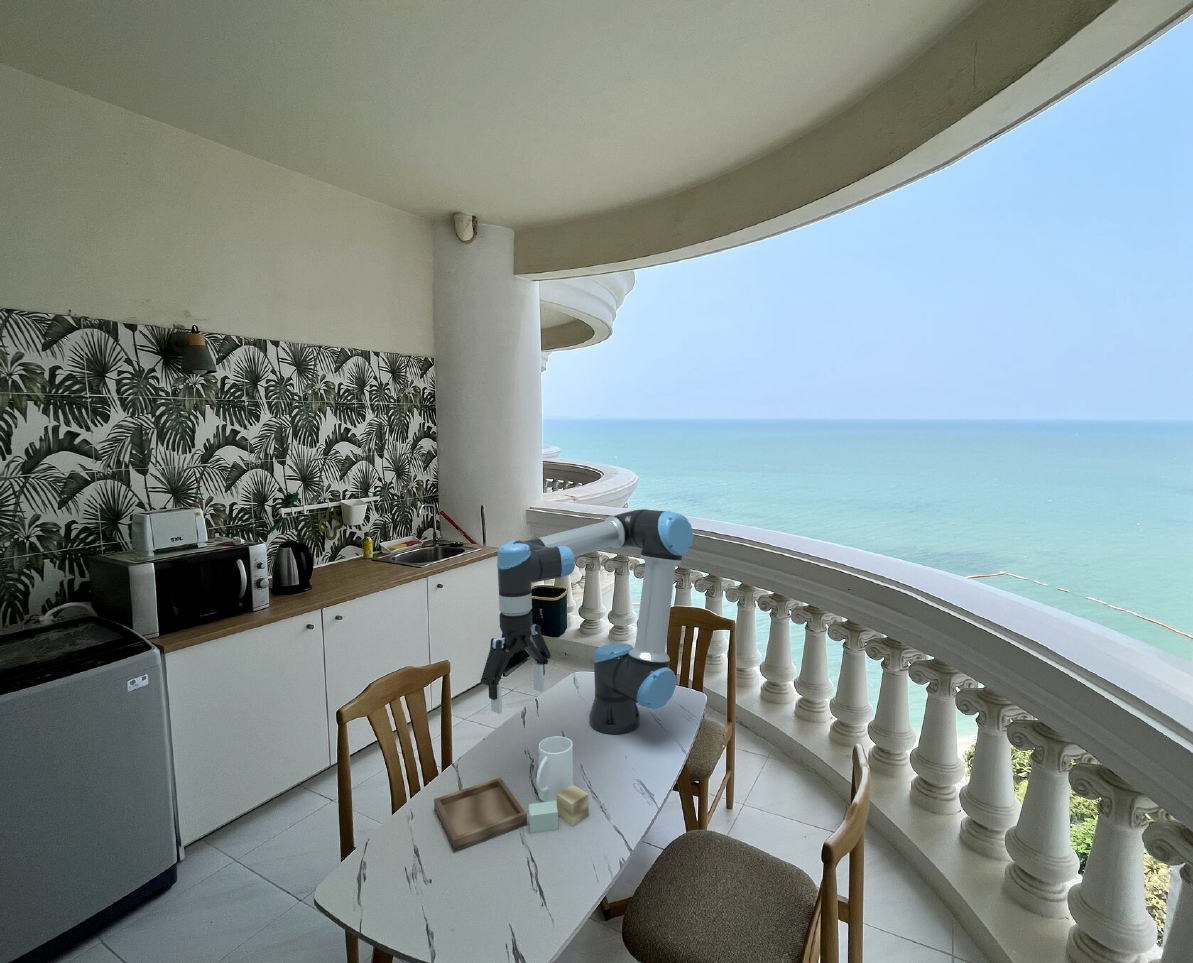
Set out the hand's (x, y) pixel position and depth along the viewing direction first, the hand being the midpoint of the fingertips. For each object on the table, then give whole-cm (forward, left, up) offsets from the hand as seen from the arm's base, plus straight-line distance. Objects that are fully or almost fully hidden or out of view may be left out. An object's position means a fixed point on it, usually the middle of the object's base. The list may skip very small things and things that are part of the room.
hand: (518, 700), depth 130 cm
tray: (+11, +2, -23) cm, 26 cm away
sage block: (0, +12, -23) cm, 26 cm away
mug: (-6, +4, -24) cm, 25 cm away
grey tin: (-9, -5, -23) cm, 26 cm away
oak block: (-7, +12, -23) cm, 27 cm away
